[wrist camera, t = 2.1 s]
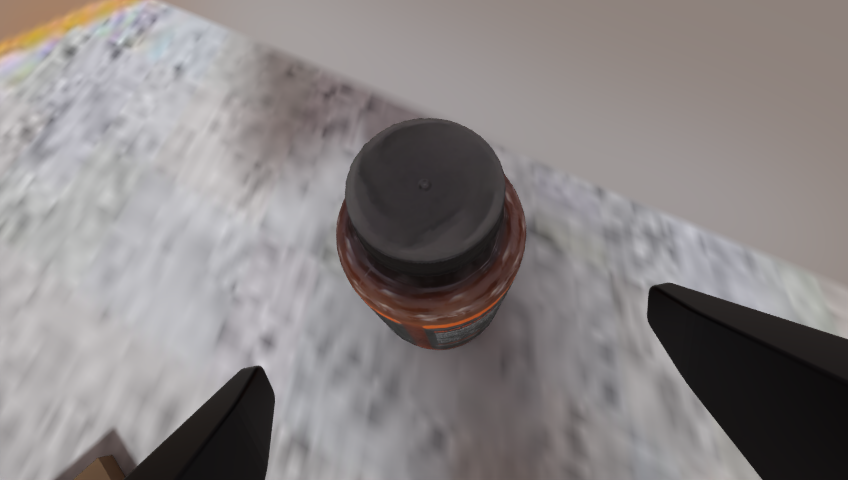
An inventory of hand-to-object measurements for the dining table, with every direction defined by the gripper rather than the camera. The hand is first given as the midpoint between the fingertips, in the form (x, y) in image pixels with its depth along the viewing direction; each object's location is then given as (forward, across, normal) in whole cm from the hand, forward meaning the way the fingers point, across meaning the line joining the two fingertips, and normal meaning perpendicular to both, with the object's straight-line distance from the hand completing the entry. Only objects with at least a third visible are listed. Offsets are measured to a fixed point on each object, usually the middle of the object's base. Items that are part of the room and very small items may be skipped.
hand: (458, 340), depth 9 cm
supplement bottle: (+10, 0, +5) cm, 11 cm away
